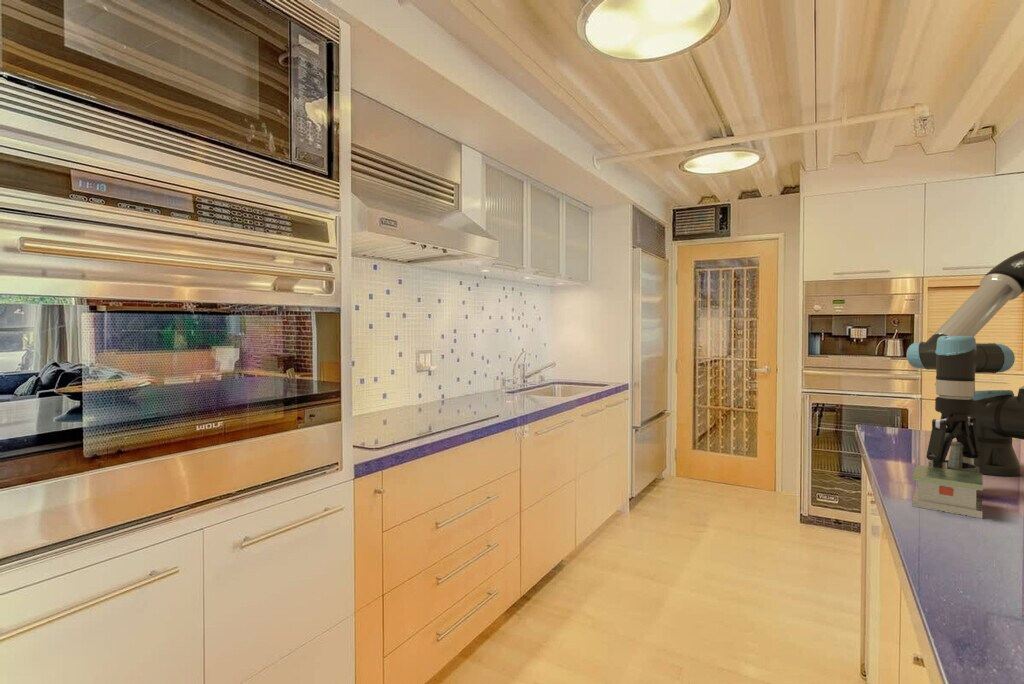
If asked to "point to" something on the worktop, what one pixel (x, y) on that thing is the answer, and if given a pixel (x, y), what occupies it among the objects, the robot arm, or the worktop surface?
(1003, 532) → the worktop surface
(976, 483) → the stand
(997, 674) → the worktop surface
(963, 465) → the mortar and pestle
